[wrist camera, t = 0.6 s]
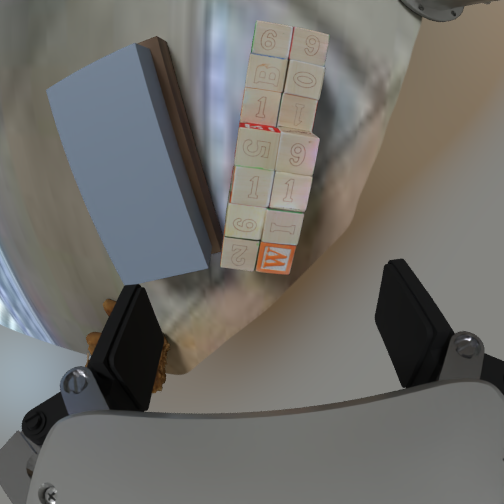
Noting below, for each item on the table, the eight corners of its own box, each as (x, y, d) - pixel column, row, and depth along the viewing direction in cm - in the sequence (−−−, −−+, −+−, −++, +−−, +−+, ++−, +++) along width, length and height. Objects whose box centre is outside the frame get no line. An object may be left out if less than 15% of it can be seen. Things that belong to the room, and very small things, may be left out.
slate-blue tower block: (149, 48, 23) (134, 42, 19) (212, 246, 34) (208, 268, 31) (68, 87, 24) (46, 89, 20) (136, 264, 35) (125, 286, 31)
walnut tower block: (167, 42, 26) (156, 36, 22) (223, 234, 39) (221, 251, 35) (78, 81, 27) (59, 82, 23) (140, 253, 40) (131, 271, 36)
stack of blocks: (253, 37, 26) (258, 8, 16) (309, 48, 27) (344, 28, 16) (225, 213, 37) (218, 269, 26) (276, 220, 37) (289, 277, 27)
